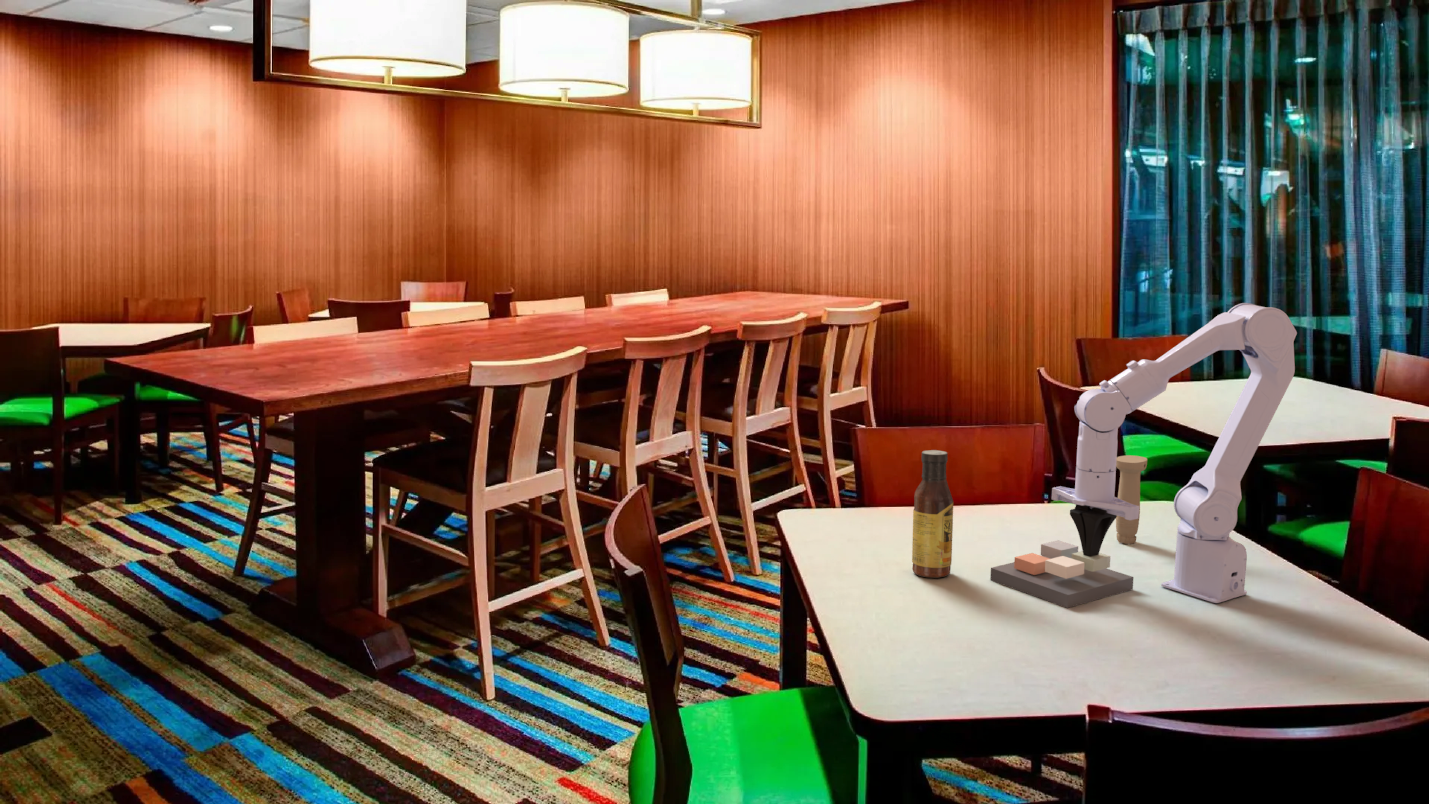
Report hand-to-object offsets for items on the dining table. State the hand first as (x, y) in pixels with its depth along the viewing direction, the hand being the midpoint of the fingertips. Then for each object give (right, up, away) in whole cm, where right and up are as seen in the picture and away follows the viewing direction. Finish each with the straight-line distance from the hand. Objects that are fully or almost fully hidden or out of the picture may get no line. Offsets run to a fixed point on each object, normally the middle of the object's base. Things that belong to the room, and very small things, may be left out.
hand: (1090, 554), depth 165 cm
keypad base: (-4, -5, +2) cm, 7 cm away
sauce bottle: (-23, -4, +7) cm, 25 cm away
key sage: (0, -2, 0) cm, 2 cm away
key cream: (-5, -2, -3) cm, 6 cm away
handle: (+15, -1, +24) cm, 28 cm away
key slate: (-3, -1, +5) cm, 6 cm away
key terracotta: (-8, -3, +2) cm, 9 cm away
